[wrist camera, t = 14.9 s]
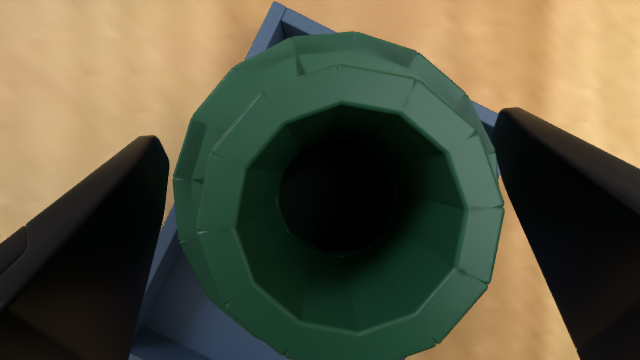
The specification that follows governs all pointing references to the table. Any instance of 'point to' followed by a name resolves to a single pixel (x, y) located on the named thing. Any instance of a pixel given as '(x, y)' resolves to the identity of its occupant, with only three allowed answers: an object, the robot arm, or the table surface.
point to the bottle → (339, 199)
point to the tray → (179, 278)
